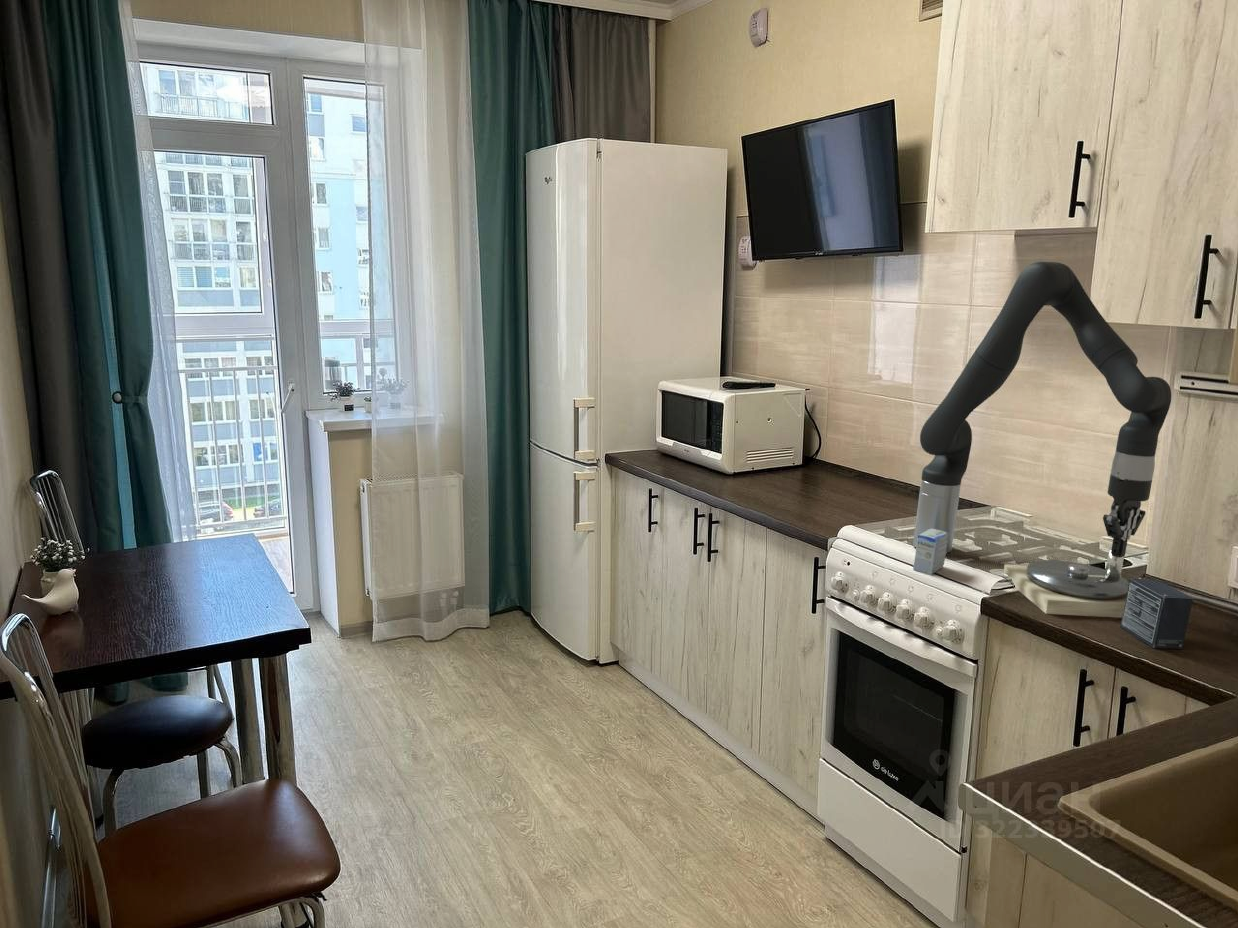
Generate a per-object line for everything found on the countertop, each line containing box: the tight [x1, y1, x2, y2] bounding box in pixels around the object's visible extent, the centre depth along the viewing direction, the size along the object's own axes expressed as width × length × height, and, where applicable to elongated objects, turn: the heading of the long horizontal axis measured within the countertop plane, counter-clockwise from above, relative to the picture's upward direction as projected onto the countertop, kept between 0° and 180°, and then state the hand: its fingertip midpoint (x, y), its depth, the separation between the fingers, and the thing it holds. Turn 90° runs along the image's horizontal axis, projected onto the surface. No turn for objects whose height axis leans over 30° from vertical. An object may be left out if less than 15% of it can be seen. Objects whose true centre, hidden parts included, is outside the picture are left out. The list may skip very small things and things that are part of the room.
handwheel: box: [1026, 548, 1129, 599], centre depth 195 cm, size 20×20×8 cm
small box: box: [1119, 577, 1194, 650], centre depth 175 cm, size 11×6×10 cm, turn 5°
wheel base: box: [1003, 564, 1127, 619], centre depth 196 cm, size 22×22×3 cm
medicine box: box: [913, 529, 949, 575], centre depth 209 cm, size 8×4×9 cm, turn 141°
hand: (1117, 556), depth 188 cm, fingers closed
